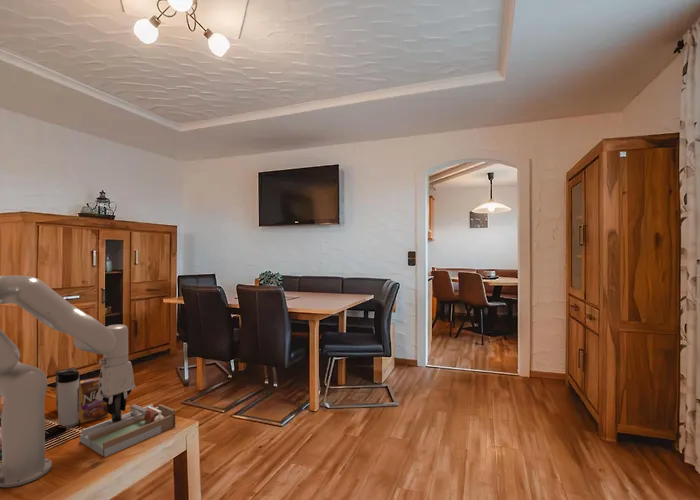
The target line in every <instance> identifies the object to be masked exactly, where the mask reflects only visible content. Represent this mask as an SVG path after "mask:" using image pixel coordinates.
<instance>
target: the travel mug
mask: <svg viewBox="0 0 700 500" xmlns="http://www.w3.org/2000/svg"><path fill="white" fill-rule="evenodd" d="M57 376H58V411H57V416H58V417H57V418H58V419H57V420H58V421H57V422H58V425H62V426H65V427H66V428H65V429H70V428H74V427H75V426H78V425H79V423H80V412H79V377H80V371H79V372H76V371H64V372H60V373H57Z"/></svg>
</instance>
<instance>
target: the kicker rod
mask: <svg viewBox="0 0 700 500" xmlns="http://www.w3.org/2000/svg"><path fill="white" fill-rule="evenodd" d="M113 403H114V414H113V415H111V419H112V420H111V421H109V425H111V424H113V423H116V422H119V421H121V420H124V419H127V418H129V417H132V416H135V415H137V414H140V413H142V414H144V420H145V422H147V423H149V424H150V423H152V422H154V410H152V409H150V408H146V409H145V408H143V407H144V406H143V407H142V406H141V405H139V404H138V405H137V404H136V403H135V404H132V405H130V407H129V408H130V409H129V412H130V414H127V415H124V414H122V412H123V411H122V409H121V393H119V394H116V395H113ZM122 415H124V416H122Z"/></svg>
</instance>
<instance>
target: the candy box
mask: <svg viewBox="0 0 700 500" xmlns="http://www.w3.org/2000/svg"><path fill="white" fill-rule="evenodd" d="M98 391H99V376H98V377H94V378H87V379H80V412H79V423H80V424H83V423H86V422H91V421H92V422H93V421H96V420H101V419H105V418H108V417H109V413H108V412H107V403H106V402H104V401H101V400H97V399H95V397H96V395H97V393H98ZM102 396H104V395H103V394H102ZM104 397H105V396H104Z"/></svg>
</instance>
